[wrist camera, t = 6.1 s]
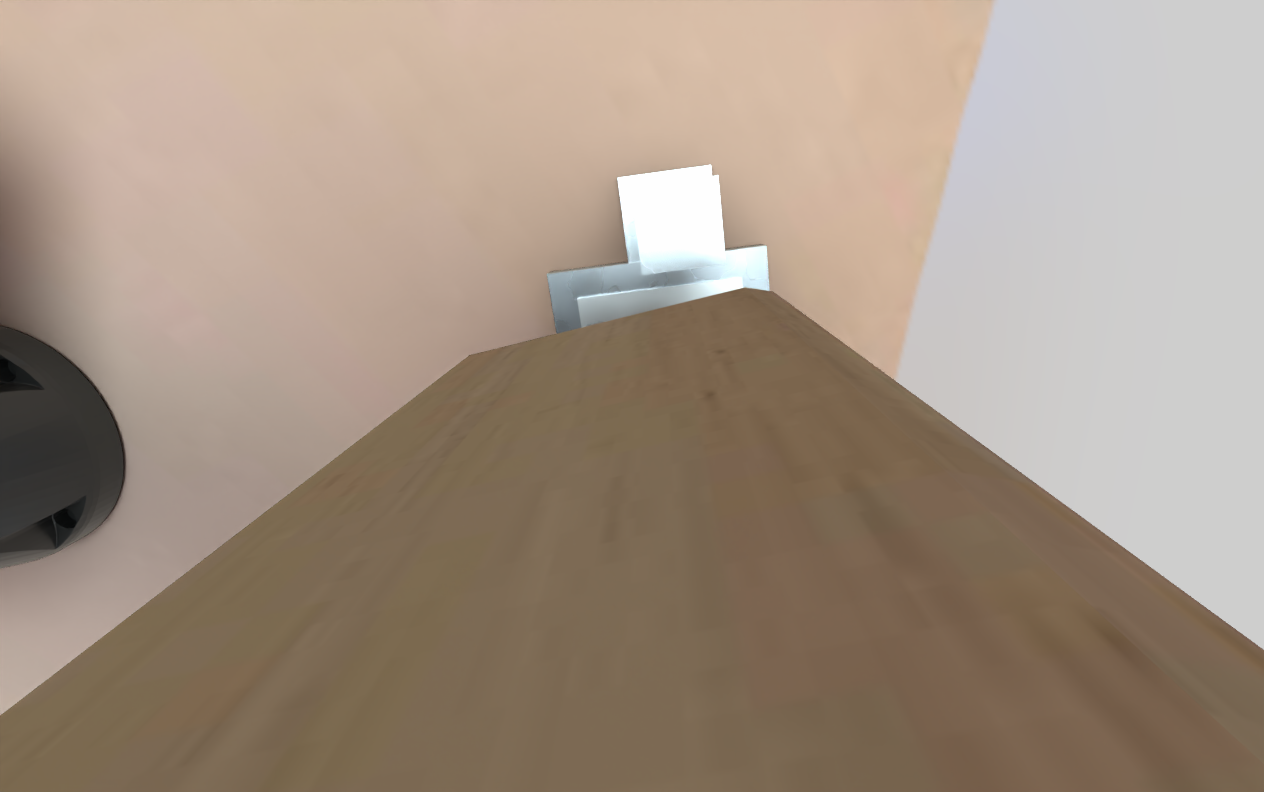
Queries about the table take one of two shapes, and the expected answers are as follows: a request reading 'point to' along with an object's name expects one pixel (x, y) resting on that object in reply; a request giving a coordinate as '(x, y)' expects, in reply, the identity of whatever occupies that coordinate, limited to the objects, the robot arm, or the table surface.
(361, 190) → the table surface
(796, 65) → the table surface
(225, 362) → the table surface
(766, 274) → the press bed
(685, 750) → the wooden block
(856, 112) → the table surface
